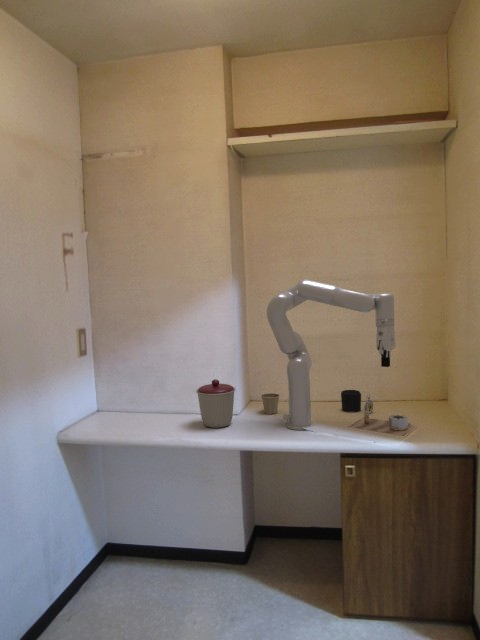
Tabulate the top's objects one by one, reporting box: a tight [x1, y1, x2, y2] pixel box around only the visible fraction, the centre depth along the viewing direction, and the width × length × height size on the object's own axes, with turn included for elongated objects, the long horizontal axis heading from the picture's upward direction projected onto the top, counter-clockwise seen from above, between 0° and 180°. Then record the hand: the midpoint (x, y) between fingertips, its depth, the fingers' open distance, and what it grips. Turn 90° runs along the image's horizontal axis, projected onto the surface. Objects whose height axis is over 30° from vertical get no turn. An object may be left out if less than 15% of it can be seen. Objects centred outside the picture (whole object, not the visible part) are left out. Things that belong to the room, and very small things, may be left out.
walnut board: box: [347, 416, 417, 437], centre depth 208 cm, size 24×16×1 cm, turn 52°
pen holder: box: [340, 389, 362, 413], centre depth 235 cm, size 9×9×10 cm
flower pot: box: [260, 392, 281, 415], centre depth 241 cm, size 9×9×9 cm
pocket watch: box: [363, 394, 374, 415], centre depth 226 cm, size 8×8×10 cm
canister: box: [195, 378, 236, 429], centre depth 224 cm, size 18×18×21 cm
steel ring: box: [388, 414, 409, 429], centre depth 204 cm, size 7×7×4 cm
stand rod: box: [363, 410, 370, 424], centre depth 212 cm, size 2×2×5 cm
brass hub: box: [390, 427, 407, 431], centre depth 204 cm, size 7×7×3 cm
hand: (385, 366), depth 205 cm, fingers closed
